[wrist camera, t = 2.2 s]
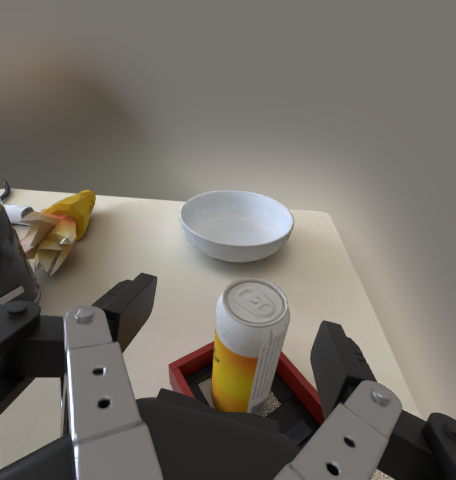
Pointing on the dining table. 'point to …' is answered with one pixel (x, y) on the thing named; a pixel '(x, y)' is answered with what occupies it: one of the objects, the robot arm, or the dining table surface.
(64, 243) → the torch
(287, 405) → the red picture frame
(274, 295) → the lager tin can
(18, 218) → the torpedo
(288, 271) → the dining table surface
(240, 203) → the serving bowl
